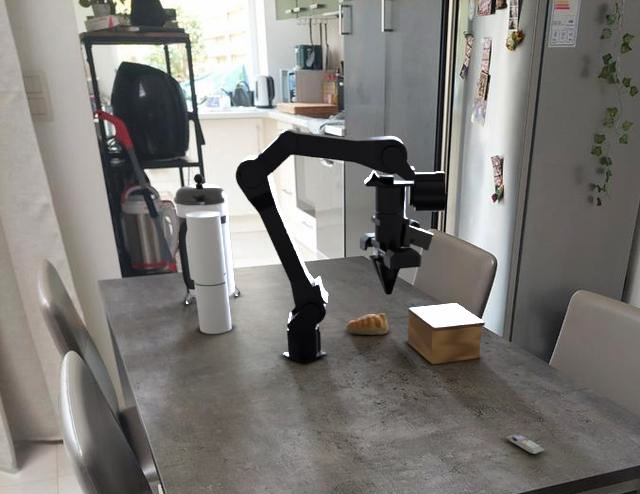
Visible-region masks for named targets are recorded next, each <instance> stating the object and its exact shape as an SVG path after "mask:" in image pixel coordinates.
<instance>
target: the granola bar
mask: <svg viewBox="0 0 640 494" xmlns="http://www.w3.org/2000/svg"><path fill="white" fill-rule="evenodd" d="M506 438H507V439H508V440H509V442H511V443H513V444H514V445H516V446H518V447H520V448H521V449H523V450H525V451H526V452H528V453H529V454H534V455H536V454H539V453H540V452H541V453H542V452H543V451H545V449H544V448H543V447H541V446H540V445H539V444H537V443H535V442H533V440H530V439H528V438H527V437H525V436H523V435H521V434H519V433H514V434H512V435H508V436H506Z"/></svg>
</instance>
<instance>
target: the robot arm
mask: <svg viewBox="0 0 640 494" xmlns="http://www.w3.org/2000/svg"><path fill="white" fill-rule="evenodd" d="M291 156H299V157H308V158H314V159H315V158H316V159H323V160H324V159H325V160H333V161H340V162H347V163H355V164H358V165H361V166H363V167H366V168H369V169H371V170H372V172H371V174H370V175H369V177H367V178H366V179H365V180H364V185H365V187H367V188H370V187H371V188H372V187H374V215H370V217H371V218H370V219H371V223H373V224H374V232H366V233H365V232H364V233H363V234H362V235H361V236H360V238H359V249H360V250H362V251H365V252H366V251H367V250H368V248H371V249H372V254H371V255H369V256H368V257H369V259H370V261H371V263H372V266H373V269H374V270H375V273H376V275H377V277H378V280H379V281H380V285H381V287H382V290H383V292H384V294H385V295H387V296H388V295H392V293H393V290H394V287H395V285H396V281H397V278H398V276H399V273H400V271H401V269H402V270H403V269H411V268H413V269H414V268H420V267H421V266H422V254H420V253H419V251H418V250H416V249H414V248H413V247H411V245H412V246H415V247H418V248H420V249H421V248H422V250H424V251H429V249H430V247H431V244H432V241H433V238H434V236H435V235H434V233H432V232H429V231H427V230H425V229H423V228H421V223H420V222H419V221H416V220H413V219H409V218H408V217H406V194H407V193H406V191H407V187H408V195H407V197H408V198H407V199H408V200H407V201H408V206H409V207H412V208H413V210H414V212H445V210H446V206H447V195H448V194H447V192H446V186H447V185H446V173H445V172H444V171H434V172H416V169H415V167H414V166H411V165H410V164H409V162H408V151H407V147H406V145H405V144H404V143H403V142H402V140H401V139H400V138H398V137H397V136H393V135H386V136H385V135H384V136H370V137H364V138H363V137H362V138H354V137H345V136H343V137H342V136H337V135H329V134H328V135H327V134H322V133H321V134H320V133H313V132H305V131H297V130H295V129H292V128H286V129H284V130H282V131H281V132H280V133H279V134H278V135H277V137H276V138H275V139H274V140H273V141H272V142H271V143H270V144H269V145H268V146H267V147H265V148H264V149H263V150H262V151H261V152H260V153H259V154H257V155H249V156H247V157H245V158H244V159H242V161H241V162H240V163H239V165H238V166H237V168H236V171H235V181H236V184H237V185H238V187H239V189H240V190H241V192H242V193H243V195H244V196H245V198H246V199H247V201H248V202H249V204H251V206H252V207H253V208H254V209H255V211H256V212H257V214H258V215H259V217H260V218H261V219H260V220H261V221H262V224H264V228H265V231H266V232H267V234H268V237H269V239H270V241H271V243H272V245H273V247H274V250H275V252H276V254H277V256H278V259H279V261H280V263H281V265H282V267H283V269H284V273H285V274H286V276H287V279H288V281H289V284H290V288H291V293H292V299H293V304H294V307H293V308H292V309H291V310H290V311H289V315H288V319H287V324H286V327H287V329H286V337H287V351H286V352H284V353H283V355H282V356H283V357H284V358H287V359H290V360H291V361H294V362H295V361H296V362H298V363H301V364H307V363H310V362H313V361H315V360H317V359H320V358H322V357H325V356H326V352H325V351H321V350H322V339H321V331H320V323H322V322H323V321H324V319H325V317H326V315H327V306H328V305H327V304H328V299H329V297H328V296H329V293H328V292H327V291H326V290H325V288H324V285H323V282H322V277H321V276H318V277H316V278H315V279H314V278H313V276H312V275H311V274H310V273H309V271H308V269H307V267H306V265H305V262H304V260H303V258H302V255H301V253H300V250H299V248H298V246H297V243H296V242H295V239H294V237H293V234H292V232H291V230H290V228H289V225H288V223H287V221H286V218H285V216H284V214H283V211H282V209H281V207H280V205H279V201H278V197H277V191H276V185H275V182H274V177H273V173H274V172H275V171H276V170H277V169H278V168H279V167H280V166H281V165H282V164H284V162H285V161H286V160H287V159H289V158H290V157H291ZM376 171H377V172H380V173H382V174H383V173H384V174H386V175H378V174H377V172H376ZM394 175H397V176H399V178H401V179H403V180H395V178H394V177H395V176H394Z"/></svg>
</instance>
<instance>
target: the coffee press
mask: <svg viewBox="0 0 640 494" xmlns="http://www.w3.org/2000/svg"><path fill="white" fill-rule="evenodd" d="M193 180H194V182H195V184H188V185H183V186H181V187H180V188H178V189H177V190H176V192H175V195H174V197H173V202H174V204H175V207H176V222H177V225H178V235H177V241H178V252H179V258H180V259H179V260H180V265H181V273H182V278H183V282H184V285H185V287H186V288H185V289H186V293H185V295H184V297H183V300H182V301H183V302H184V303H185V304H186V305H189V304H191V303H192V302H193V300H196V292H195V285H194V277H193V269H192V261H191V253H190V245H189V237H188V229H187V221H186V214H188V213H191V212H199V211H213V212H218V213H220V219H221V229H222V238H223V248H224V258H225V268H226V278H227V288H228V297H230V296H231V295H234V296H235V297H240V296H241V291H240V289H238V287H237V286H236V279H235V278H236V277H235V269H234V259H233V247H232V238H231V229H230V228H231V227H230V212H229V210H228V201H229V196H228V195H227V194H226V192H225V190H224V189H223V188H222V187H220V186H218V185H215V184H210V183H209V184H208V183H203V182H204V180H205V178H204V176H203V175H202V174H201V173H196V174H195V175H194V176H193ZM235 290H236V291H237V294H235V293H234V292H235ZM189 295H190V296H191V297H190V298H189V299H188V297H189ZM187 299H188V301H187Z"/></svg>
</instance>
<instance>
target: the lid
mask: <svg viewBox="0 0 640 494" xmlns="http://www.w3.org/2000/svg"><path fill="white" fill-rule="evenodd" d="M407 311H408V312H410V313H411V314H412V315H413V316H415V317H416V318H417V319H419V320H420V321H421V322H422V323H424V324H425V325H426V326H428V327H429V328H430V329H431V330H433V331H443V330H452V329H461V328H470V327H479V326H482V327H485V325H486V322H485V321H484V320H482V319H481V318H479V317H478V316H476V315H475V314H473V313H471V312H470V311H468V310H467V309H465V307H463V306H461V305H459V304H458V303H445V304H437V305H435V304H434V305H427V306H415V307H408V309H407ZM408 312H407V313H408Z"/></svg>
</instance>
